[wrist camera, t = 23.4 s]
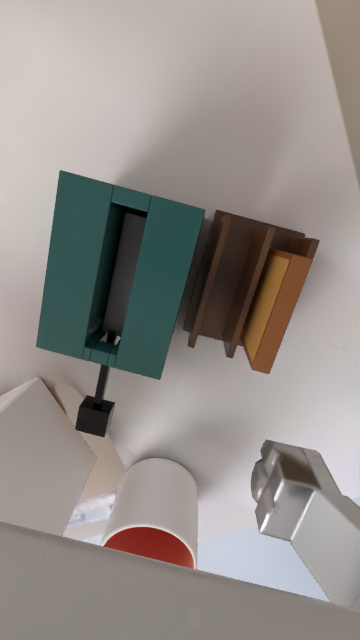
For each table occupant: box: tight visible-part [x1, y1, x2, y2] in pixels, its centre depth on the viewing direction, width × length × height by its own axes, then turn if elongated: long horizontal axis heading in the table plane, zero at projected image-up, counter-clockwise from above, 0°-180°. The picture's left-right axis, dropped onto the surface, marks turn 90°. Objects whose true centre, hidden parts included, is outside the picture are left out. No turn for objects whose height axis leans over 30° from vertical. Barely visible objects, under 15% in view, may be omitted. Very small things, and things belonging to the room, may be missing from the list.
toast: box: [240, 248, 313, 374], centre depth 27 cm, size 9×1×10 cm, turn 165°
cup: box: [100, 458, 198, 570], centre depth 36 cm, size 10×10×10 cm
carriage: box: [75, 212, 147, 437], centre depth 27 cm, size 20×3×2 cm, turn 165°
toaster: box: [36, 170, 205, 380], centre depth 28 cm, size 13×11×11 cm
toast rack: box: [183, 210, 319, 358], centre depth 30 cm, size 13×9×7 cm
